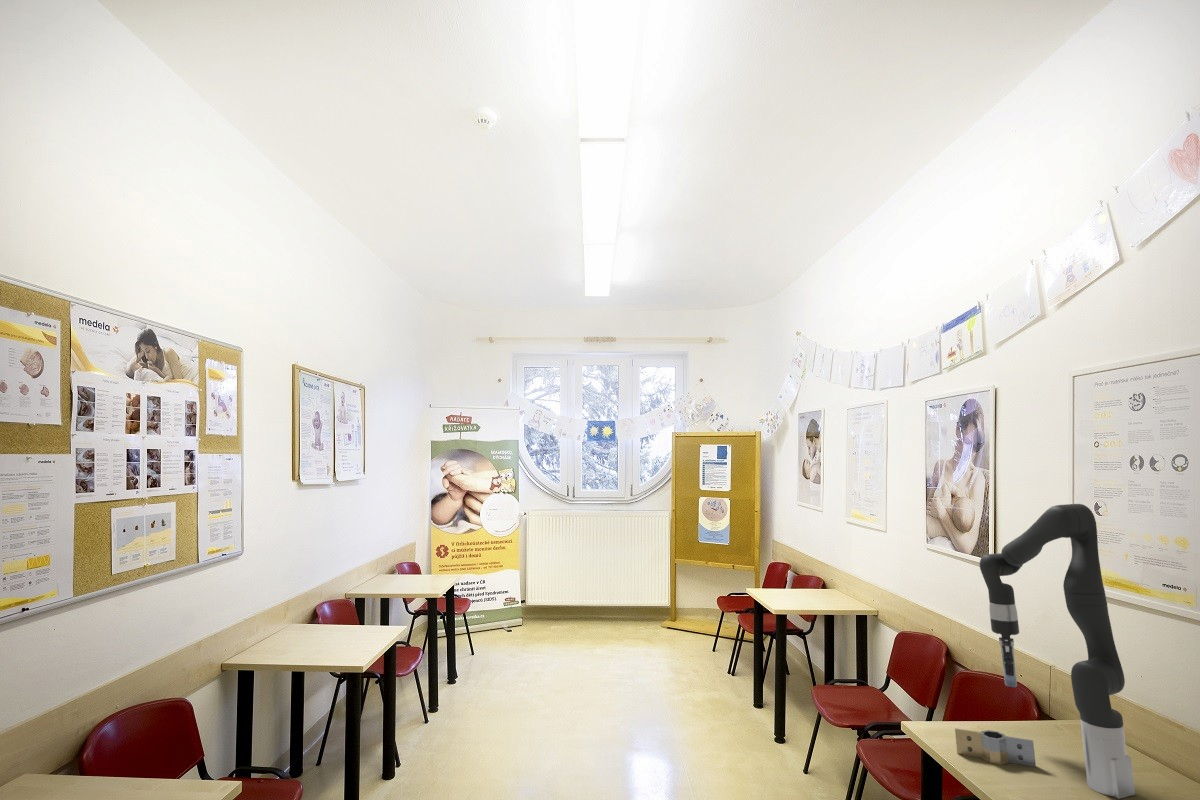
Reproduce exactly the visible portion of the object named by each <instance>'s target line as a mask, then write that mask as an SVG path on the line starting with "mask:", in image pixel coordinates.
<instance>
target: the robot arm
mask: <svg viewBox="0 0 1200 800" xmlns="http://www.w3.org/2000/svg"><path fill="white" fill-rule="evenodd" d="M1062 538H1065V539H1069V538H1070V542H1071V557H1070V558H1071V559H1070V562H1069V565H1068V567H1067V570H1066V572H1065V576H1064V579H1063V585H1062V586H1063V592H1064V599H1065V600H1064V601H1065V605H1066V609H1067V611H1068V613H1069V615H1070V617H1071V618H1072V620H1073V621H1074V623H1075V624H1076V626H1077V627H1078V629H1079V630H1080V631H1081V633H1082V635H1083V637H1084V640H1085V645H1086V650H1087V660H1082V661H1077V662H1075V664H1074V665H1072V668H1071V673H1070V681H1071V687H1072V693H1073V694H1072V695H1073V699H1074V703H1075V704H1074V705H1075V708H1076V710H1077V711H1078V713H1079V718H1080V719H1079V720H1080V727H1081V728H1080V729H1081V739H1082V748H1083V756H1084V765H1085V766H1084V767H1085V775H1086V784H1087V786H1088V788H1090V789H1091V790H1093V791H1095V792H1096V793H1099V794H1102V795H1106V796H1109V797H1113V798H1116V799H1118V800H1119V799H1124V798H1127V797H1128V798H1129V797H1131V796H1135V795H1136V790H1135V782H1134V771H1133V762H1132V758H1131V756H1129V755H1128V754H1127V746H1126V739H1125V738H1126V737H1125V728H1124V720H1123V719H1124V718H1123V716H1122V713H1120V711H1118V710H1116V709H1114V708H1112V704H1111V698H1110V696H1112V695H1115V694H1119V693H1121V692H1122V691H1123V690H1124V687H1125V682H1126V681H1125V680H1126V679H1125V674H1124V670H1123V666H1122V664H1121V663H1122V662H1121V660H1120V657H1119V653H1118V651H1117V648H1116V643H1115V639H1114V635H1113V629H1112V625H1111V620H1110V615H1109V608H1108V602H1107V596H1106V595H1107V594H1106V590H1105V586H1104V583H1103V575H1102V569H1101V562H1100V558H1099V557H1100V556H1099V542H1098V530H1097V521H1096V517H1095V515H1094V513H1093V512H1092V510H1091V509H1090V508H1089V507H1088V506H1086V505H1085V504H1082V503H1070V504H1069V503H1067V504H1066V503H1065V504H1056V505H1053V506H1050V507H1049V508H1048V509H1046V510H1045V511H1044V512H1043V513H1042V514H1041V515H1040V516H1039V517H1038V518H1037V520H1036V521H1034V523H1032V525H1031V526H1030V527H1029V528H1028V529H1027V530H1025V531H1024V532H1023V533H1022V534H1020V535H1019V536H1017V537H1016V538H1014V539H1012V540H1011V541H1010V542H1008V543H1007V544H1005V545H1004V546H1003V547H1002V549H1001V552H998V553H988V554H984V555H982V557H980V560H979V570H980V573H981V575H982V577H983V579H984V583H985V585H986V588H987V591H988V600H989V601H988V602H989V609H988V610H989V618H990V628H991V629H990V630H991V631H992V632H993V633H994V634H997V635H1000V636H1001V637H998V642H999V643H998V644H999V645H1000V651H1001V656H1002V655H1003V656H1004V659H1003V660H1002V662H1003V661H1004V663H1005V670H1006V675H1008V676H1014V668H1013V663H1014V662H1015V659H1014V660H1013V656H1014V657H1015V650H1014V649H1015V641H1014V638H1012V637H1011V636H1016V635H1019V634H1020V625H1019V618H1018V617H1019V616H1018V610H1017V605H1016V599H1015V591H1014V588H1013V586H1012V585H1011V584H1008V583H1005V582H1003V581H1002V579H1001V577H1004V576H1012V575H1014V574H1016V573H1018V572H1019V571H1020V569H1021V568H1022V567H1023V565H1024V564H1027V563H1029V562H1030V561H1031V560H1033V559H1034V558H1036V557H1037V556H1038V555H1040V553H1041V551H1042V549H1043V547H1044V546H1045V545H1046V544H1048V543H1051V542H1053V541H1055V540H1059V539H1062ZM1006 656H1007V657H1011V659H1008V658H1005V657H1006Z"/></svg>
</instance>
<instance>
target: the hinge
mask: <svg viewBox="0 0 1200 800" xmlns="http://www.w3.org/2000/svg"><path fill="white" fill-rule="evenodd" d="M954 732H955V744H956V745H955V746H956V754H958V755H962V754H963V755H962V756H967V755H968V756H969V757H974V758H980V759H983V760H984V761H986V762H988V763H990V764H993V765H999V766H1003V765H1007V764H1009V763H1010V764H1014V765H1021V766H1027V767H1033V768H1036V767H1037V765H1036V764H1037V763H1036V756H1035V747H1034V746H1035V745H1034V743H1035V742H1034V740H1033V739H1027V738H1022V737H1021V738H1020V737H1014V736H1008V735H1006V734H1004V733H1002V732H999V731H996V730H988V729H987V730H981V731H976V730H975V731H974V730H968V729H961V728H956V727H955V729H954Z"/></svg>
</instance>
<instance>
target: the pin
mask: <svg viewBox="0 0 1200 800" xmlns="http://www.w3.org/2000/svg"><path fill="white" fill-rule="evenodd" d="M1005 658H1008V659H1011V657H1007V656H1006V657H1005ZM1003 659H1004V656H1003V655H1002V654H1001V661H1002V667H1003V677H1004V685H1005V686H1006V687H1009V688H1016V687H1018V682H1017V673H1016V664H1015V655H1014V656H1013V660H1014V663H1013V668H1014V676H1008V675H1006V670H1005V663H1004V661H1003Z"/></svg>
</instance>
